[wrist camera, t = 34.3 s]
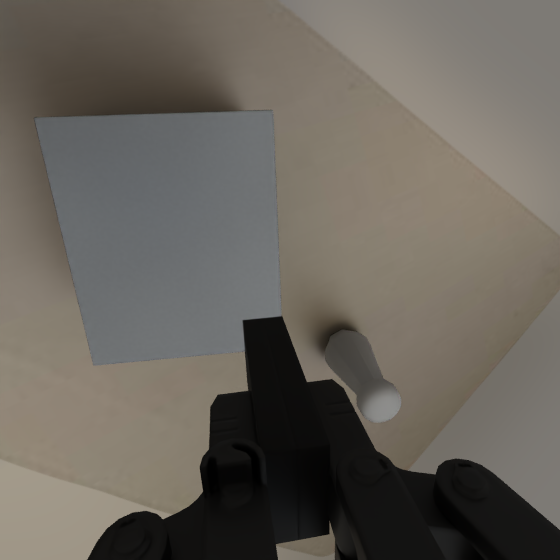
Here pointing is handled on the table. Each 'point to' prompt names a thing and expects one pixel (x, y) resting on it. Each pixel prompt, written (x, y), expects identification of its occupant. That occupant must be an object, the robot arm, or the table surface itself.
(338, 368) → the salt shaker
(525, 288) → the table surface
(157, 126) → the grey box lid
